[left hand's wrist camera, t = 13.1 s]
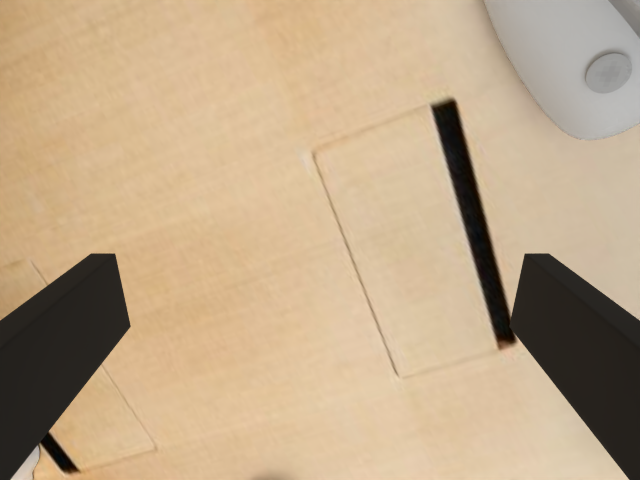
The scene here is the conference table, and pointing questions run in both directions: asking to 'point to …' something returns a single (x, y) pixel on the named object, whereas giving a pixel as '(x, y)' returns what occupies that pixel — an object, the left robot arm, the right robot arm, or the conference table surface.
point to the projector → (576, 60)
